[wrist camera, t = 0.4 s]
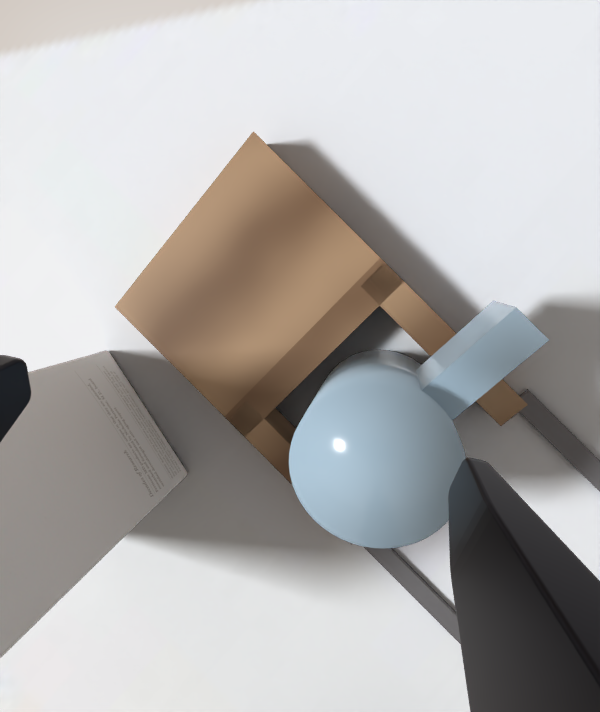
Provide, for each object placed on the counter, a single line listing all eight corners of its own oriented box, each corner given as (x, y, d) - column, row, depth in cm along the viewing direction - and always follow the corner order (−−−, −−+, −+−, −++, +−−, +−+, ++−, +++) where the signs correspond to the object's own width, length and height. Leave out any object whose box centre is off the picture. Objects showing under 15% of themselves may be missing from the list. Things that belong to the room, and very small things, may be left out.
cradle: (515, 392, 21) (527, 404, 19) (354, 522, 24) (351, 544, 22) (265, 143, 22) (253, 131, 20) (136, 303, 24) (114, 306, 23)
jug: (377, 491, 24) (373, 579, 17) (293, 407, 24) (255, 460, 17) (541, 357, 21) (613, 398, 14) (445, 260, 21) (471, 256, 14)
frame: (689, 550, 21) (693, 554, 21) (491, 671, 24) (492, 676, 24) (527, 389, 21) (529, 390, 21) (351, 531, 24) (351, 534, 24)
